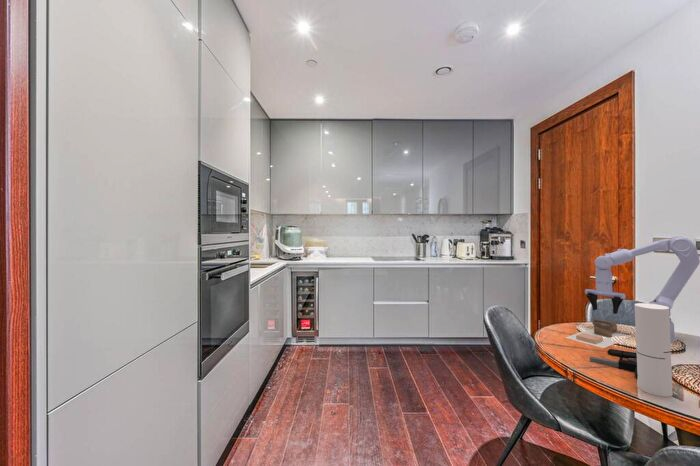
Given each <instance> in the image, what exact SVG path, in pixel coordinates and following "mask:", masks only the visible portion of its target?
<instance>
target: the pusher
mask: <svg viewBox="0 0 700 466" xmlns="http://www.w3.org/2000/svg"><path fill="white" fill-rule="evenodd" d="M591 324H592V325H593V328H594V334H598V335H602V336H606V337H610V338H611V337H612V334H613V333H616V332H617V333H618V324H617V322H613V321H608V320H607V321H606V320H604V319H603V320H602V319H598V318H593V321H592V323H591Z"/></svg>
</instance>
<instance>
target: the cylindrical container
mask: <svg viewBox="0 0 700 466" xmlns="http://www.w3.org/2000/svg"><path fill="white" fill-rule="evenodd" d="M634 317H635V318H634V324H635V327H634V328H635V345H636V346H635V348H636V353H637V361H636V362H637V374H638V378H637V388H638V389H639V390H641V391H643V392H645V393H647V394H650V395H653V396H658V397H662V398H663V397H664V398H669V397H673V395H674V394H673V375H672V373H673V372H672V371H673V368H672V352H671V351H672V347H671V346H672V345H671V343H670V321H669V318H670V317H669V307H667V306H663V305H657V304H649V302H647V303H645V302H638V303H634Z"/></svg>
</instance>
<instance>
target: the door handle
mask: <svg viewBox="0 0 700 466" xmlns="http://www.w3.org/2000/svg"><path fill="white" fill-rule="evenodd" d="M607 355H610V356H614V357H618V358H619V359H618V360H614V359H607V358H601V357H596V356H590V357H589V361H590V362H591V363H596V364H599V365H603V364H604V366H607V365H608V367H612V366H613V368H617V369H619V370H622V369H623V370H624V371H626V370H627V372H630V373H634V375H635V377H636V378H637V379H638V374H637V352H635V351H633V352H632V351H628V350H627V351H626V350H620V349H615V348H614V349H612V348H610V349H608V350H607Z"/></svg>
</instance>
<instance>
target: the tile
mask: <svg viewBox="0 0 700 466" xmlns="http://www.w3.org/2000/svg"><path fill="white" fill-rule="evenodd" d="M576 339H578V340H582V341H586V342H590V343H593V344H597V343H599V342H602V341H603V337H598V336H594V335H590V334H586V333H582V334H579V335H576Z"/></svg>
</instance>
